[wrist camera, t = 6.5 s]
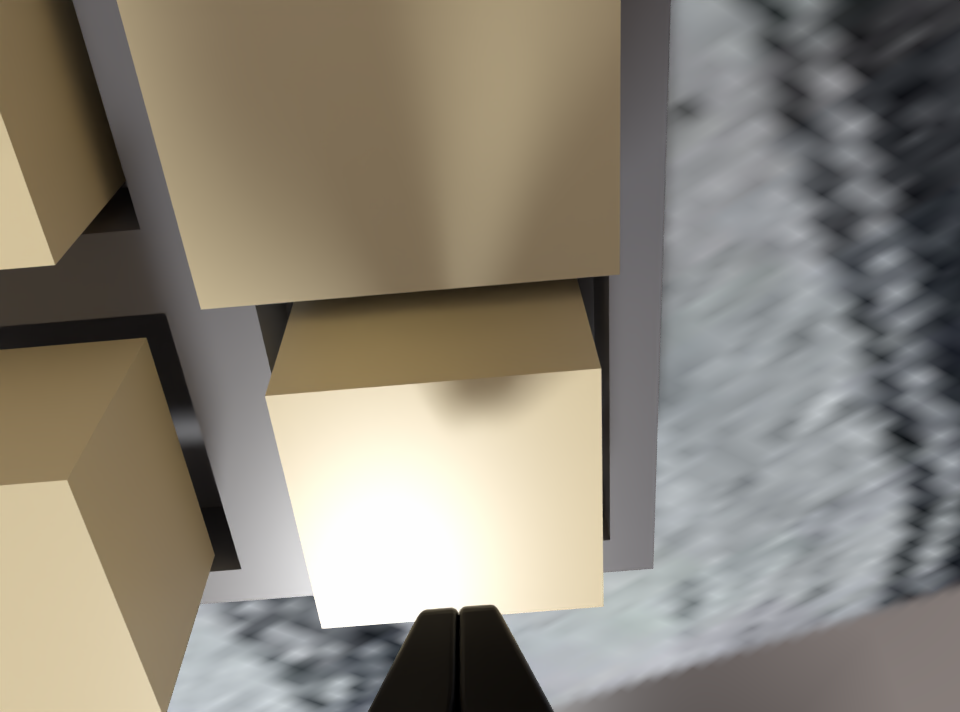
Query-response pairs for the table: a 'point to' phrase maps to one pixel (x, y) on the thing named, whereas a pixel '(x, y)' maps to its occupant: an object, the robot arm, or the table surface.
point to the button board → (260, 328)
